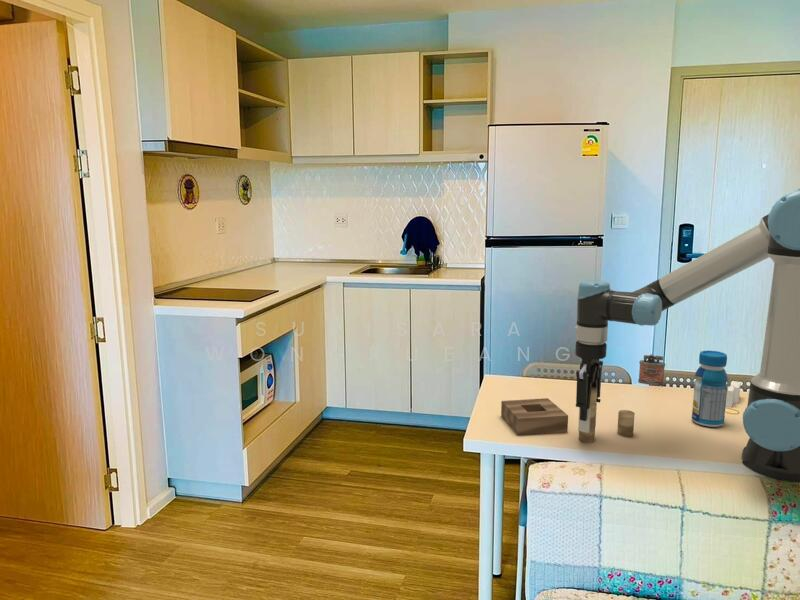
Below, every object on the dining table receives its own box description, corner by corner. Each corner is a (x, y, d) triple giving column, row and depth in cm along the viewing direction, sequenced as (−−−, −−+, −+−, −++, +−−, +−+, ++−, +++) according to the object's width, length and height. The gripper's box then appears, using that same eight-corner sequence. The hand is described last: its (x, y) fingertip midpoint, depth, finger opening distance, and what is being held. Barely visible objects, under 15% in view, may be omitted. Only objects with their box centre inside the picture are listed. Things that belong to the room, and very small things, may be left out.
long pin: (597, 442, 153) (599, 390, 150) (582, 443, 152) (585, 391, 150) (590, 436, 157) (592, 385, 154) (575, 437, 156) (578, 386, 154)
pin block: (567, 433, 159) (568, 415, 158) (517, 436, 157) (518, 418, 156) (547, 414, 173) (547, 398, 172) (501, 417, 171) (501, 400, 170)
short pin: (636, 436, 157) (637, 414, 156) (622, 437, 156) (623, 415, 155) (628, 430, 160) (629, 409, 159) (614, 431, 160) (615, 410, 159)
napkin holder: (732, 394, 191) (734, 377, 190) (763, 405, 180) (765, 387, 179) (695, 399, 186) (696, 381, 185) (724, 411, 176) (726, 393, 175)
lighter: (637, 383, 201) (639, 354, 199) (638, 380, 204) (640, 352, 202) (663, 386, 197) (665, 357, 196) (664, 383, 200) (666, 355, 199)
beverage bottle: (711, 430, 160) (717, 358, 157) (684, 419, 168) (689, 351, 164) (731, 424, 164) (737, 354, 161) (703, 414, 172) (709, 348, 168)
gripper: (588, 333, 159) (584, 415, 163) (564, 346, 145) (560, 435, 149) (616, 337, 155) (611, 421, 158) (594, 350, 141) (590, 442, 145)
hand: (586, 428), depth 154 cm, fingers closed on long pin, 4 cm apart
